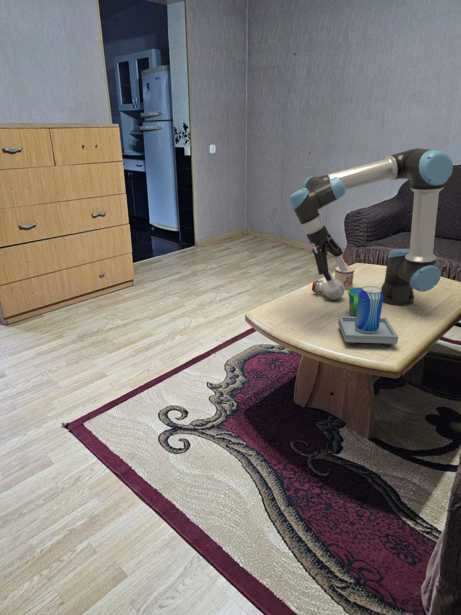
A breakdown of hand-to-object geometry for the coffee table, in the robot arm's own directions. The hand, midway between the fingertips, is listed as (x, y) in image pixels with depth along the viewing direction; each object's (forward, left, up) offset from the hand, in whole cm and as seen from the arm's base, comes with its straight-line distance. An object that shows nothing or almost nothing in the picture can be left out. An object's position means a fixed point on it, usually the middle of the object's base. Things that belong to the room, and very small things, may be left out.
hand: (339, 278), depth 166 cm
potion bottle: (-1, -28, -19) cm, 33 cm away
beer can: (-9, +13, -15) cm, 22 cm away
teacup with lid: (-11, -43, -19) cm, 49 cm away
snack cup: (-11, -9, -19) cm, 24 cm away
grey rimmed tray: (-9, +13, -19) cm, 24 cm away
